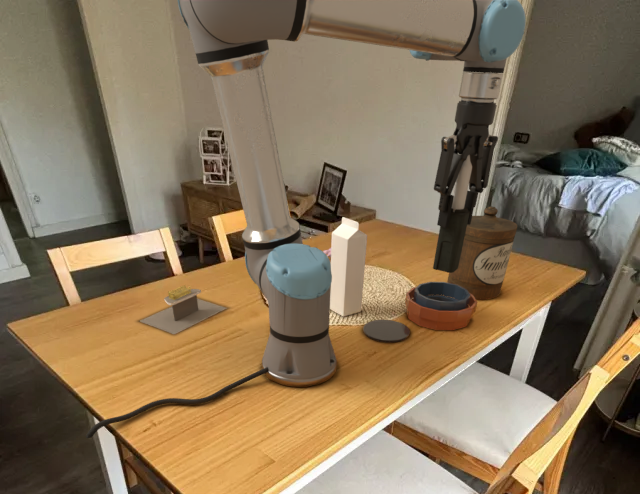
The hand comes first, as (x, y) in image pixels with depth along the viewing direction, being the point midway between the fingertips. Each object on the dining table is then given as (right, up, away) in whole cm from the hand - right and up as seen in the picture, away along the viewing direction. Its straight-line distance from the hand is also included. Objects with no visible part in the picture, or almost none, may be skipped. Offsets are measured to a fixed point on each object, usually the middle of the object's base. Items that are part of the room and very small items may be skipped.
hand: (453, 224), depth 107 cm
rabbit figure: (-25, +9, +47) cm, 54 cm away
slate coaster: (-14, -23, +6) cm, 28 cm away
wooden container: (+13, -7, +28) cm, 32 cm away
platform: (-64, -18, +11) cm, 67 cm away
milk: (-24, -16, +15) cm, 32 cm away
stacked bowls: (0, -17, +14) cm, 22 cm away
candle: (0, -8, +6) cm, 10 cm away
